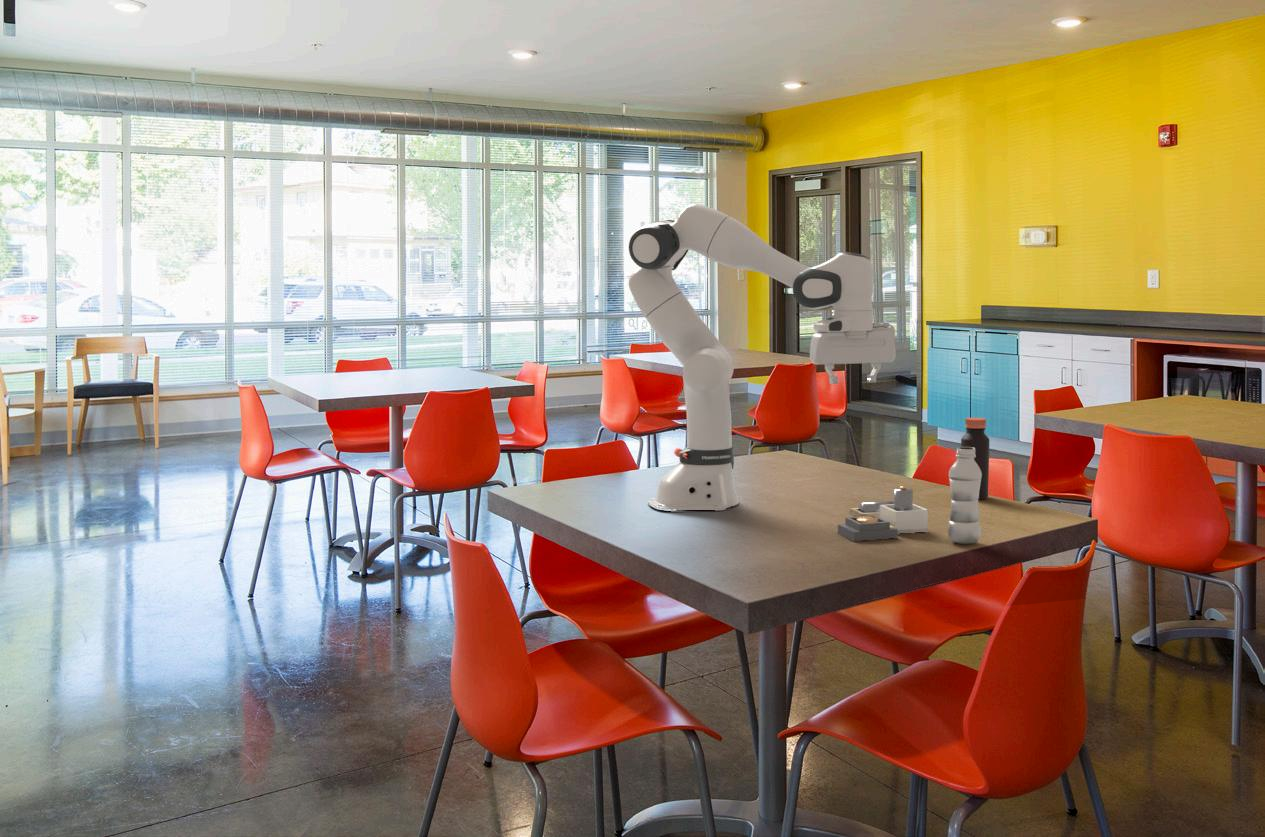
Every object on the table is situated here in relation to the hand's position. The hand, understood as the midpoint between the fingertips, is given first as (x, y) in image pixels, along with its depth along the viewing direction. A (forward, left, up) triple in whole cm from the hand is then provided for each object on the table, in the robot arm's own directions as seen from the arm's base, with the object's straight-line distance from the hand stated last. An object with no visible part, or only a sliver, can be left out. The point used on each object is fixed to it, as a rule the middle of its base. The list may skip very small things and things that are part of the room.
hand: (852, 383), depth 246 cm
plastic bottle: (+10, -33, -31) cm, 47 cm away
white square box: (+4, -18, -31) cm, 36 cm away
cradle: (-6, -21, -31) cm, 38 cm away
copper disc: (-6, -21, -28) cm, 36 cm away
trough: (+2, -10, -31) cm, 33 cm away
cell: (+4, -18, -30) cm, 35 cm away
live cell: (+2, -10, -31) cm, 33 cm away
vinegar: (+38, +9, -31) cm, 50 cm away
